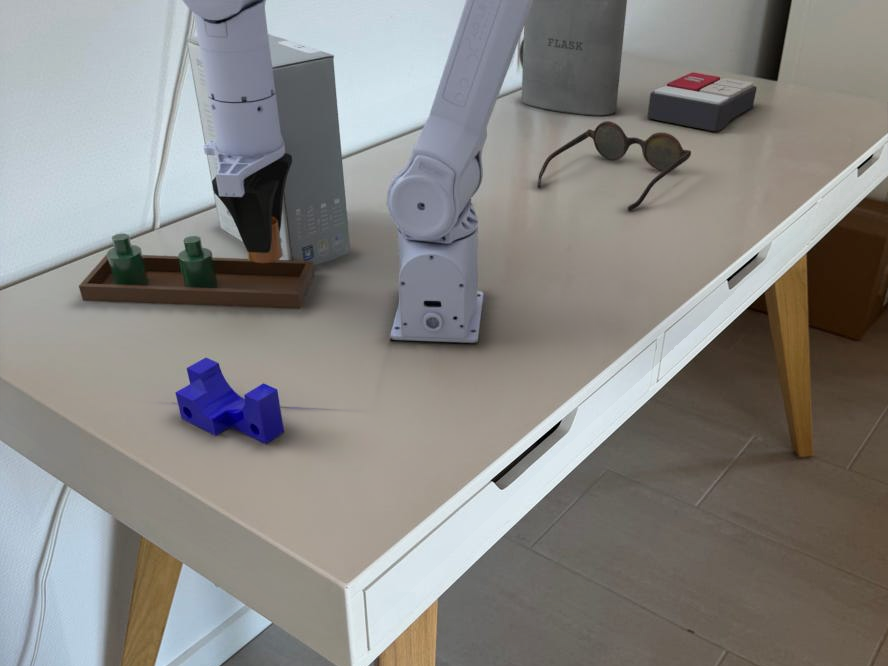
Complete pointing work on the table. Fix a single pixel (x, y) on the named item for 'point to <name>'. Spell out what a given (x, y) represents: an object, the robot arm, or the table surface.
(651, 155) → the eyeglasses
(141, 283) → the green bottle
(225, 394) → the cable holder
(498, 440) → the table surface
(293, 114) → the hard drive box
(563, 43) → the flask
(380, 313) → the table surface
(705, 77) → the calculator
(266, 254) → the amber bottle
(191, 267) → the green bottle
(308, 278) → the tray
